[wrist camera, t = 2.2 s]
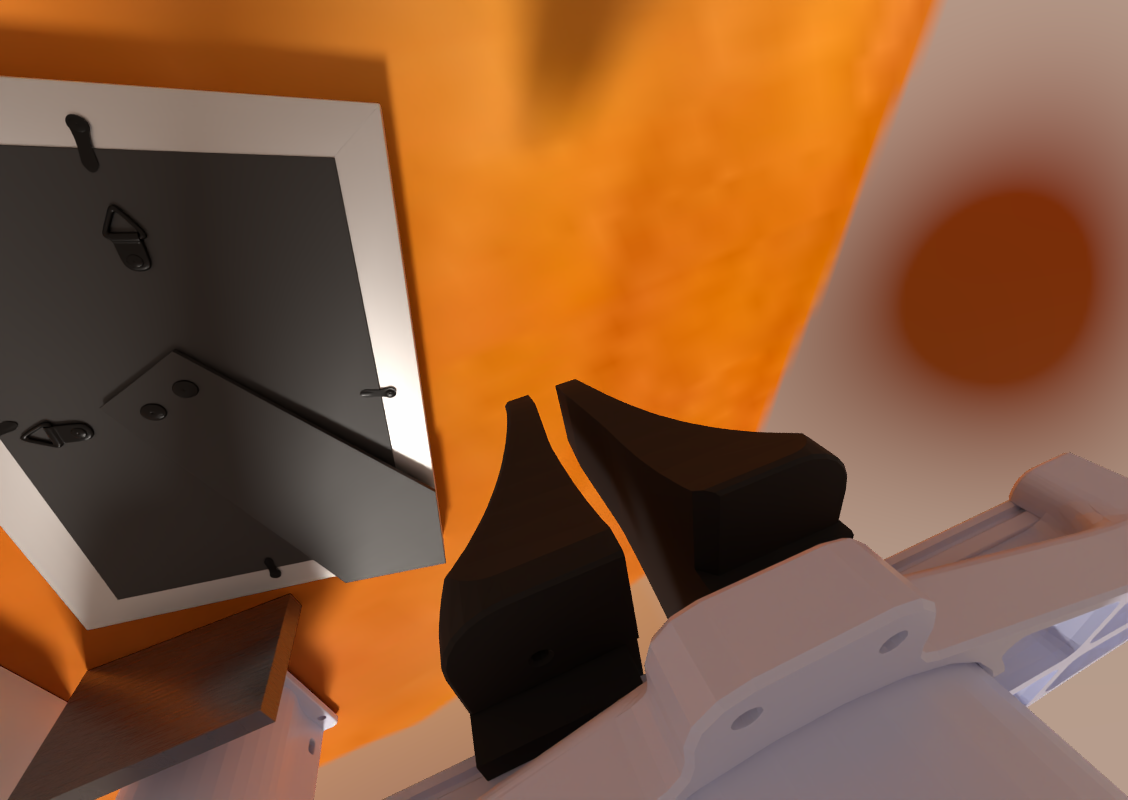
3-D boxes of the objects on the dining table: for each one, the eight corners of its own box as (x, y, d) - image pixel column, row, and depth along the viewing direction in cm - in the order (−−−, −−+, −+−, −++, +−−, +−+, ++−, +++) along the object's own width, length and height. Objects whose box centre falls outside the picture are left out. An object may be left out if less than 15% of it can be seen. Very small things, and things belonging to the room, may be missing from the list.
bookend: (301, 605, 24) (275, 721, 19) (104, 682, 22) (19, 831, 17) (290, 593, 23) (260, 710, 18) (86, 671, 22) (-8, 823, 17)
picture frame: (442, 525, 26) (382, 109, 15) (446, 563, 23) (378, 100, 13) (113, 591, 21) (-274, 63, 11) (76, 646, 19) (-458, 37, 9)
